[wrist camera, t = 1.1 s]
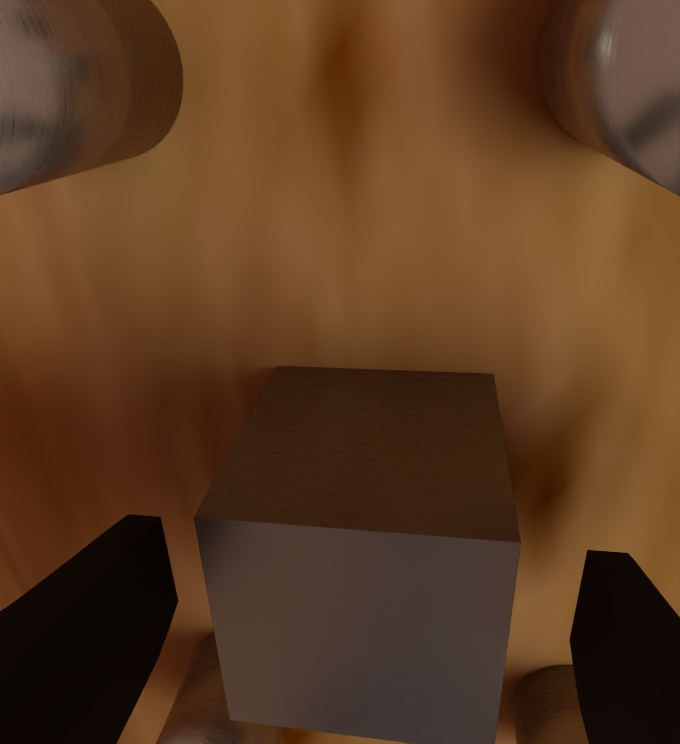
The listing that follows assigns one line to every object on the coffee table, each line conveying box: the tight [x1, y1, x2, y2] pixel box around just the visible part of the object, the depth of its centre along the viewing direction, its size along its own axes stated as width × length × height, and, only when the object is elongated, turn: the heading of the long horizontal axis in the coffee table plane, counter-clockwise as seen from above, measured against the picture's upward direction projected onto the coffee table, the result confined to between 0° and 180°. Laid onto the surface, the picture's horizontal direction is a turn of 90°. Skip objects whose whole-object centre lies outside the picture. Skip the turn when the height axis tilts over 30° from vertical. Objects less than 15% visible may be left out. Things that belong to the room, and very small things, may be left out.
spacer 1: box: [0, 0, 183, 195], centre depth 9 cm, size 3×3×5 cm
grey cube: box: [194, 366, 521, 744], centre depth 11 cm, size 4×4×5 cm
